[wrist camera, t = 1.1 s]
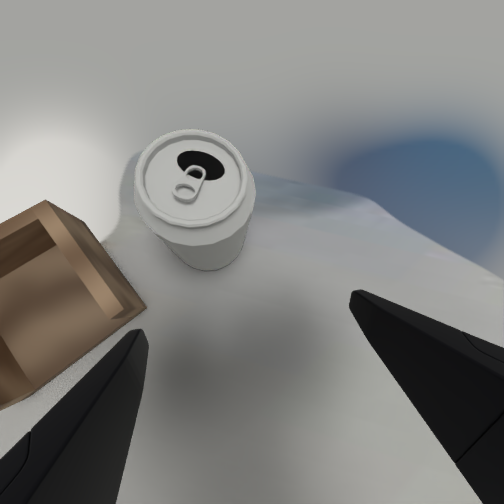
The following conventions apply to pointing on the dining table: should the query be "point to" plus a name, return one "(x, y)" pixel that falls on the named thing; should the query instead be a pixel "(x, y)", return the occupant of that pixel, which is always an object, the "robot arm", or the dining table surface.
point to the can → (195, 196)
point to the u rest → (54, 298)
